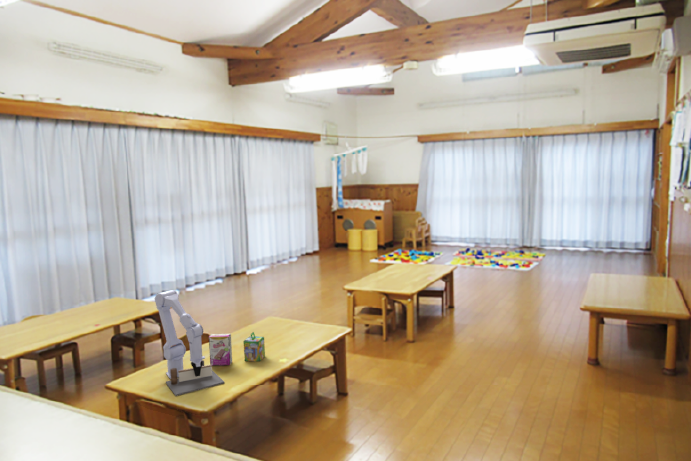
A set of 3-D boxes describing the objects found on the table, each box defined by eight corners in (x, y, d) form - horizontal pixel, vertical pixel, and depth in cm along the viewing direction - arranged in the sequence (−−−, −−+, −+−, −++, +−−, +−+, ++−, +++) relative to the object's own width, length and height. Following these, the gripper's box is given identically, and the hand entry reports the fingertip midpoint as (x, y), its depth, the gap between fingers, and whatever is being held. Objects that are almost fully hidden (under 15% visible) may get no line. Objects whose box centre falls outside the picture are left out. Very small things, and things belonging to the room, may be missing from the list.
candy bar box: (210, 366, 257) (208, 336, 255) (212, 362, 262) (210, 333, 260) (230, 365, 257) (229, 336, 255) (232, 361, 262) (231, 333, 260)
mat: (165, 383, 236) (165, 381, 236) (212, 371, 249) (212, 369, 249) (175, 396, 221) (175, 394, 221) (224, 383, 234) (224, 381, 234)
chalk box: (259, 362, 260) (258, 335, 259) (244, 361, 262) (242, 335, 261) (265, 356, 269) (264, 330, 268) (250, 355, 271) (249, 330, 270)
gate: (179, 382, 234) (178, 371, 234) (179, 381, 235) (178, 370, 234) (212, 375, 241) (211, 365, 240) (211, 374, 242) (211, 364, 241)
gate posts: (170, 384, 234) (169, 369, 233) (203, 374, 246) (202, 359, 245) (172, 386, 232) (171, 371, 231) (205, 376, 243) (204, 361, 243)
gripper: (206, 352, 230) (207, 379, 232) (202, 343, 243) (204, 369, 245) (190, 355, 227) (192, 382, 229) (188, 346, 241) (189, 371, 242)
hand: (197, 375), depth 237 cm, fingers closed
